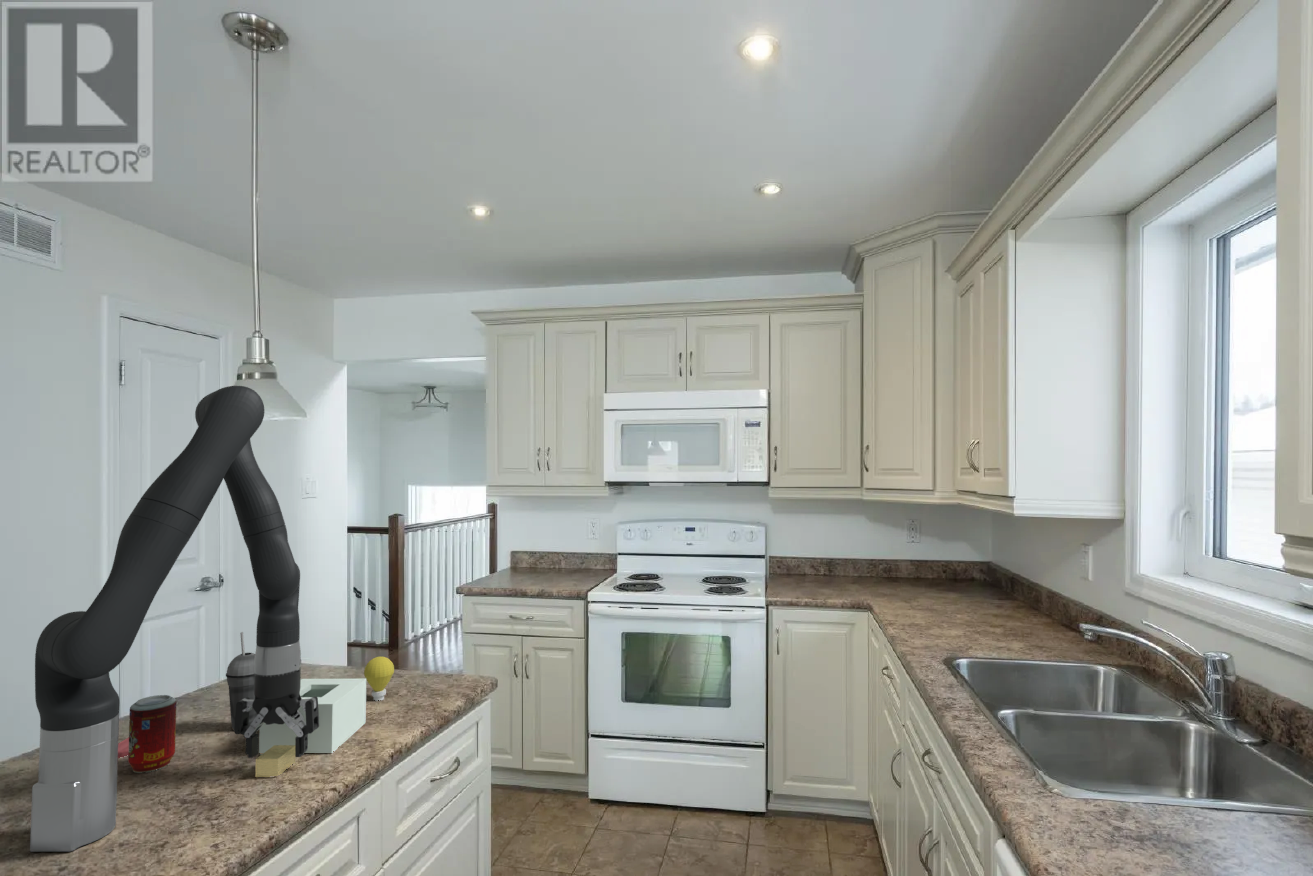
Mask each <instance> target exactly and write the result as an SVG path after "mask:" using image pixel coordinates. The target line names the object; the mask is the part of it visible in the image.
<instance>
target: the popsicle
mask: <svg viewBox="0 0 1313 876" xmlns="http://www.w3.org/2000/svg"><path fill="white" fill-rule="evenodd" d="M128 752H129V736H128V737H127V738H125V739H123V740H122V741H120V742H118V759H121V758H120V757H123V758H125V757H124V756H127V755H128ZM127 757H128V756H127Z"/></svg>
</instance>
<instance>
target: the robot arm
mask: <svg viewBox="0 0 1313 876" xmlns="http://www.w3.org/2000/svg"><path fill="white" fill-rule="evenodd" d="M264 417H265V405H264V400H263V399H262V398H261V395H260V394H258V392H256V391H255V390H254V389H253V388H250V387H248V386H244V385H231V386H224V387H221V388H219V389H217V390H215V391H213V392H210V393H208V394H207V395H205V396H204V397H202V399H200V401H199V402H198V403H197V405H196V408H195V413H194V418H195V421H196V424H197V426H198V427H197V428H196V430H195V432H194V433H193V436H192V437H191V439H190V441H189V443H188V444H187V445H186V447H185V448H184V449H183V450H182V452H180V454H179V455H178V456H176V458H175V459H174V460H173V461H172V462H171V463H170V464H169V465H168V466H167V467H166V468H164V470H163V471H162V472H161V473H160V474H159V476H157V478H156V479H155V480H153V482H152V483H151V485H150V486H149V487H148V488H147V489H146V491H145V492H144V493H143V494H142V495H141V497H140V499H139V501H138V502H137V503H136V505H135V507H134V508H133V509H132V512H131V513H130V514H129V516H128V517H127V519H126V520H125V523H124V524H123V527H122V529H121V531H120V533H119V537H118V541H117V544H116V549H115V553H114V554H115V555H114V559H113V563H112V566H111V570H110V573H109V575H108V578H107V580H106V581H105V583H104V585H103V587H101V590H100V591H99V592H98V594H97V595H96V596H95V598H94V599H93V601H92V603H91V604H90V606H88V608H87V609H86V610H85V611H83V610H79V611H70V612H67V613H64V614H61V615H60V616H59V615H58V616H57V617H56V618H54V619H53V620H52V621H50V622H49V623H48V624H47V625H46V626H45V627H44V628H43V630H42V631H41V633H40V635H39V637H38V639H37V643H36V648H35V654H34V684H35V685H34V688H35V689H34V693H35V694H34V696H35V697H34V698H35V704H36V708H37V711H38V713H39V718H40V720H39V721H40V724H39V727H40V729H39V747H38V748H39V749H38V750H39V751H38V753H39V754H38V756H39V757H38V776H37V778H38V780H37V781H38V782H36V783H34V784H33V785H32V788H31V810H30V811H31V814H30V815H31V816H30V835H29V836H30V838H29V839H30V840H29V852H32V853H33V852H35V853H36V852H37V853H38V852H42V853H43V852H73V851H75V850H76V849H78V848H80V847H82V846H85V845H87V844H88V845H89V844H91V843H93V842H95V841H98V840H100V839H101V838H104V837H106V836H107V835H108V834H111V832H113V830H114V829H115V828H116V824H117V820H116V819H117V796H118V795H117V794H118V792H117V791H118V790H117V789H118V766H119V765H118V764H119V763H118V761H119V760H118V759H119V758H118V743H119V733H120V732H119V731H120V696H119V694H118V692H117V691H116V689H115V688H114V686H113V684H112V681H111V677H110V672H111V671H113V670H115V669H116V668H117V667H118V666H119V665H120V664H121V663H122V661H123V660H124V659H125V658H126V656H127V655H128V653H129V651H130V649H131V648H132V646H133V643H134V642H135V639H136V637H137V635H138V633H139V631H140V628H141V627H142V624H143V622H144V620H145V617H146V615H147V613H148V611H149V609H150V606H152V603H153V602H154V599H155V597H156V595H157V593H158V592H159V590H160V588H161V586H162V585H163V583H164V581H166V579H167V578H168V575H169V573H170V572H171V570H172V568H174V565H175V563H176V561H177V560H178V558H179V557H180V555H181V553H182V552H183V550H184V548H185V547H186V545H187V544H188V542H189V541H190V539H191V538H192V535H193V534H194V532H195V531H196V530H197V527H199V524H200V523H201V522H202V521H201V520H202V519H203V517H204V516H205V513H206V512H207V509H208V508H209V506H210V505H211V502H212V501H213V499H214V497H215V496H216V494H217V492H218V490H219V488H220V486H221V484H222V482H223V481H224V483H225V485H226V488H227V490H228V493H229V496H230V500H231V502H232V505H233V509H234V511H235V514H236V519H237V521H238V525H239V527H240V531H241V535H242V537H243V541H244V543H245V545H246V548H247V550H248V555H249V561H250V565H251V566H250V567H251V569H252V575H253V578H254V582H255V585H256V588H257V590H258V610H259V611H258V617H257V622H256V636H255V637H256V639H255V640H256V645H255V647H256V648H255V651H254V652H255V653H254V654H255V666H254V695H255V699H254V700H250V698H249V697H245V698H244V699H242V700H241V701H239V702H237V704H236V714H235V727H234V730H233V732H234V734H235V735H242V736H244V737H245V754H246V755H247V757H248V758H249V759H253V758H254V757H256V756H257V755H258V754H259V734H260V732H258V731H260V727H261V726H262V725H263V724H264V723H266V725H270V724H274V723H275V724H284V723H286V725H287V726H288V727H289V728H290V729H292V730H293V731H294V732H295V734H296V735H297V737H296V738H295V758H301V757H302V756H303V755H305V754H304V753H305V752H306V751H307V748H308V734H311V733H312V732H313V731H314V730H316V729H317V728H318V727H319V711H318V698H317V697H316V696H314V697H312V698H310V699H302V698H301V697H300V684H301V679H302V678H301V677H302V676H301V674H302V673H301V671H302V670H301V669H302V668H301V666H302V656H301V655H302V653H301V650H302V649H301V643H300V635H301V634H300V632H301V631H300V629H301V628H300V626H301V624H300V614H299V602H300V585H301V583H300V582H301V570H300V567H299V566H298V564H297V563H296V561H295V558H294V555H293V552H292V550H291V547H290V544H289V538H288V530H287V526H286V523H285V519H284V516H283V513H282V509H281V506H280V503H279V500H278V499H277V496H276V494H275V492H274V490H273V488H272V486H271V485H270V484H269V482H268V480H267V479H266V477H265V475H264V474H263V472H262V470H261V468H260V466H259V464H258V462H257V460H256V458H255V455H254V451H253V447H252V443H251V442H252V441H251V438H252V437H253V436H254V435H255V433H256V432H257V430H258V429H259V428H260V427H261V425H262V423H263V420H264ZM300 706H302V707H303V711H305V712H306V722H305V721H304V717H303V716H302V714H301V713H300V712H299V710H298V709H299V708H300ZM252 707H253V709H254V710H255V712H256V713H257V714H258V715H257V716H256V718H255V719H254V720H253V722H252V723H251V724H250V726H249V711H250V710H251V709H252ZM292 717H294V719H295V720H293V719H292Z"/></svg>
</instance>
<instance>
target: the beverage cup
mask: <svg viewBox="0 0 1313 876" xmlns="http://www.w3.org/2000/svg"><path fill="white" fill-rule="evenodd" d="M244 638H245V637H244V632H243V631H241V632H240V644H241V647H240V648H241V653H240V654H238V655H236V656H235V657H234V658H233V659H232V660H231V661H230V662H229V664H228V665H227V668H226V673H225V677H226V681H227V686H228V695H229V697H228V698H229V709H230V710H229V711H230V722H231V723H230V724H231V729H232V728H233V729H234V727H235V714H236V704H237V702H239V701H241V700H242V699H244V698H245V697H249V698H250V700H254V699H255V695H254V666H255V653H254V652H245V639H244ZM257 715H258V714H257V713H256V712H255V710H254V709H253V707H252V709H251V710H250V711H249V726H250V724H251V723H252V722H253V720H254V719H255V718H256V716H257Z"/></svg>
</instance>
